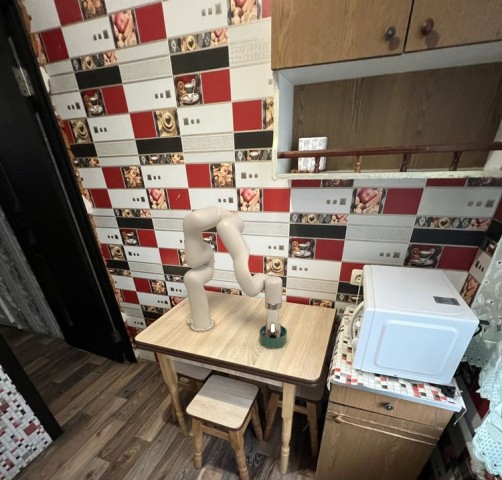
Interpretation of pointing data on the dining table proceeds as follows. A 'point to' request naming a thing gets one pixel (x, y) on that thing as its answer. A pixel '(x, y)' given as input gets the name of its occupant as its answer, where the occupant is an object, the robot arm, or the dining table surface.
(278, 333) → the white juice carton
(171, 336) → the dining table surface
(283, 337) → the teal faceted bowl
